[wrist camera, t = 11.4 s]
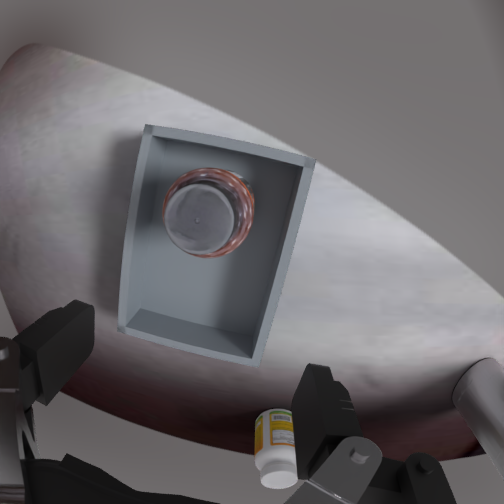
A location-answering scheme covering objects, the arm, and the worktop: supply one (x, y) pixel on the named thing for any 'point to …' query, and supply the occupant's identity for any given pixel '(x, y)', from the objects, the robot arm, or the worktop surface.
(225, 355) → the tote
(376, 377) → the worktop surface
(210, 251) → the supplement bottle
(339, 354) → the worktop surface
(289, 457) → the supplement bottle
